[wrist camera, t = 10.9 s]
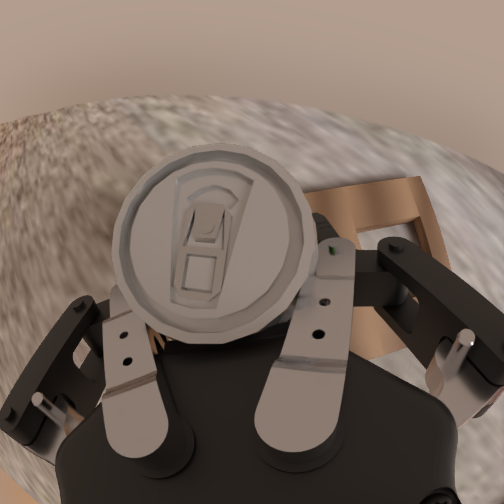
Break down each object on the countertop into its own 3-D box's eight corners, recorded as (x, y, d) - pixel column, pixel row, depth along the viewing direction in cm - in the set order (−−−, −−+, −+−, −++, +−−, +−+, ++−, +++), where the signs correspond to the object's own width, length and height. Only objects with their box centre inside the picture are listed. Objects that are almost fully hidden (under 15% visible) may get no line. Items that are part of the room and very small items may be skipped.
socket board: (413, 183, 23) (421, 174, 21) (452, 324, 20) (463, 324, 18) (185, 225, 24) (179, 218, 22) (211, 387, 21) (206, 392, 19)
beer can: (288, 336, 17) (313, 370, 5) (205, 326, 17) (88, 328, 6) (297, 253, 18) (326, 142, 7) (216, 246, 19) (134, 139, 7)
